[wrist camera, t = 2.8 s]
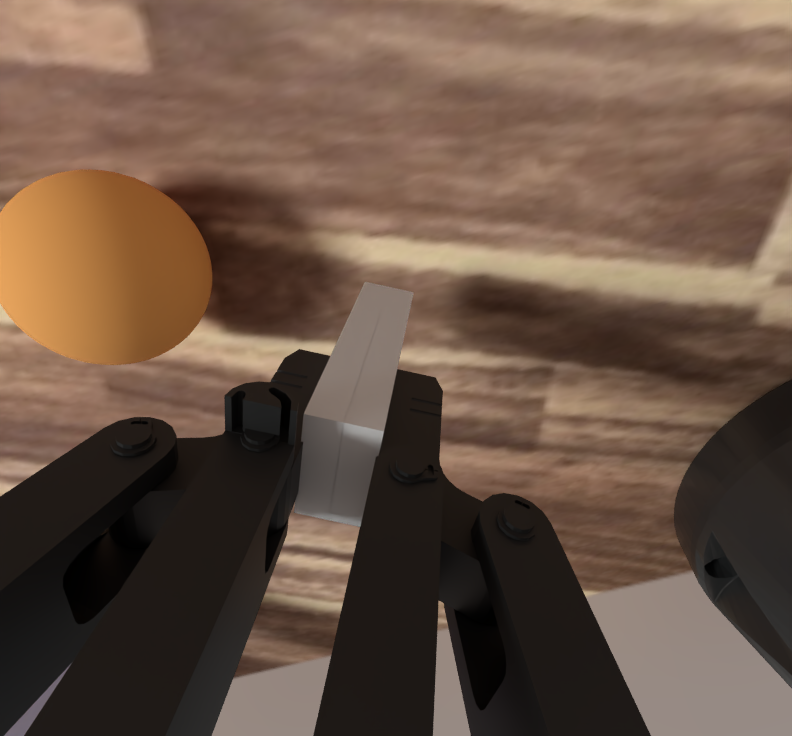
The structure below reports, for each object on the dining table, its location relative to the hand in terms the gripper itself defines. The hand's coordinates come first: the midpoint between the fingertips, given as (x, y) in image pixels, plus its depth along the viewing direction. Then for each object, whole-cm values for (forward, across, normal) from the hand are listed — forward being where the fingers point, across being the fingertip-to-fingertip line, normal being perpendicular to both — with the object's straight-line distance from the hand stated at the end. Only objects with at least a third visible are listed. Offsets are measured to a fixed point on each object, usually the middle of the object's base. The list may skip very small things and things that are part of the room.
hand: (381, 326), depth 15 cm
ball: (0, +9, 0) cm, 9 cm away
